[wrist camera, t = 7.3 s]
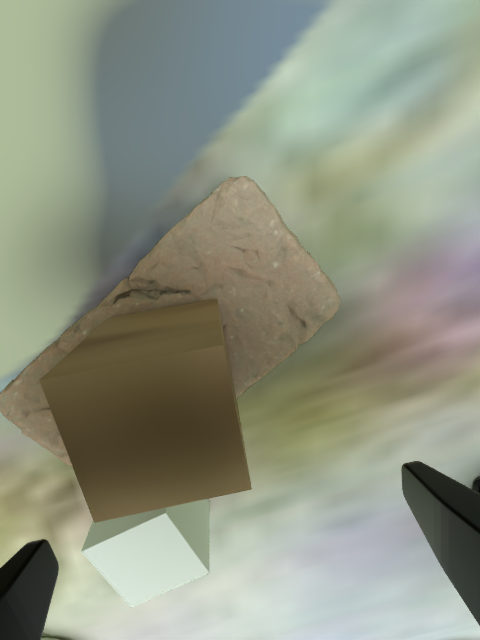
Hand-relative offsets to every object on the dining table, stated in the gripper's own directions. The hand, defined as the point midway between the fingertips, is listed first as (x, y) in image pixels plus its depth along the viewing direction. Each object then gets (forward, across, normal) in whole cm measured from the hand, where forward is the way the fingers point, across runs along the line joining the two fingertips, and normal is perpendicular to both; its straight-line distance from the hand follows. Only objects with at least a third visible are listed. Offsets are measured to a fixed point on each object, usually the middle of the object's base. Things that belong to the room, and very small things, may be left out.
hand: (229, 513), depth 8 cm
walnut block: (+8, +2, -1) cm, 8 cm away
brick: (+13, +2, -2) cm, 13 cm away
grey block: (+12, +6, +10) cm, 17 cm away
